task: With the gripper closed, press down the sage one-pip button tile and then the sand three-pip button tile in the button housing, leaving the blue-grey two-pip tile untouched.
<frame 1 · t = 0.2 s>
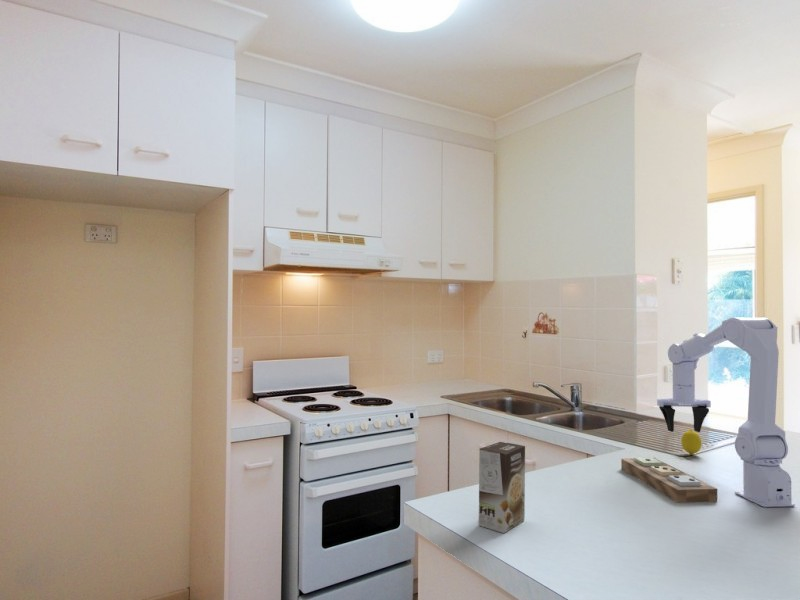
hand: (683, 431, 152), 10 cm above the countertop, fingers open, 7 cm apart
button three: (664, 473, 136), point 3 cm above the countertop, slide at 0.0 cm
button one: (647, 464, 144), point 3 cm above the countertop, slide at 0.0 cm
button two: (684, 483, 128), point 3 cm above the countertop, slide at 0.0 cm
coffee box: (502, 524, 109), on the countertop
lemon: (691, 455, 164), on the countertop
housing: (665, 483, 136), on the countertop
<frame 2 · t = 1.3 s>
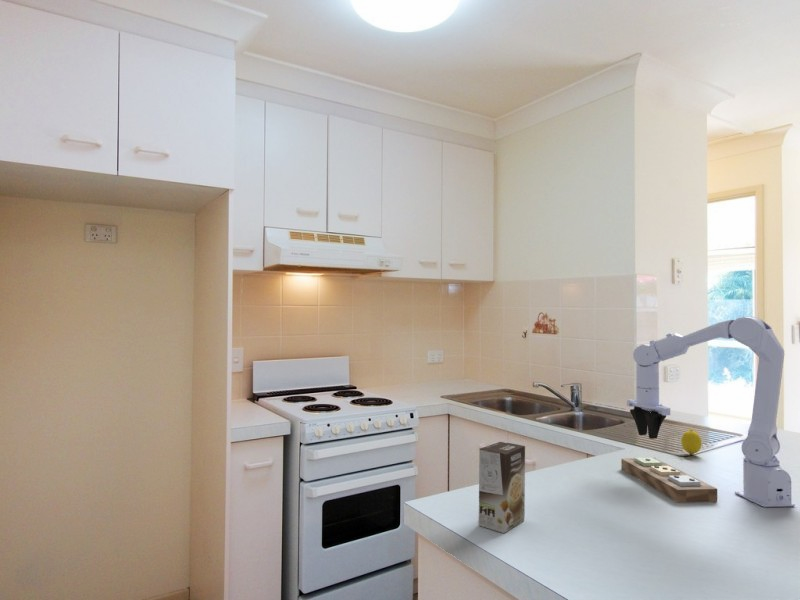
hand: (647, 436, 144), 10 cm above the countertop, fingers open, 3 cm apart
nothing on the countertop moved.
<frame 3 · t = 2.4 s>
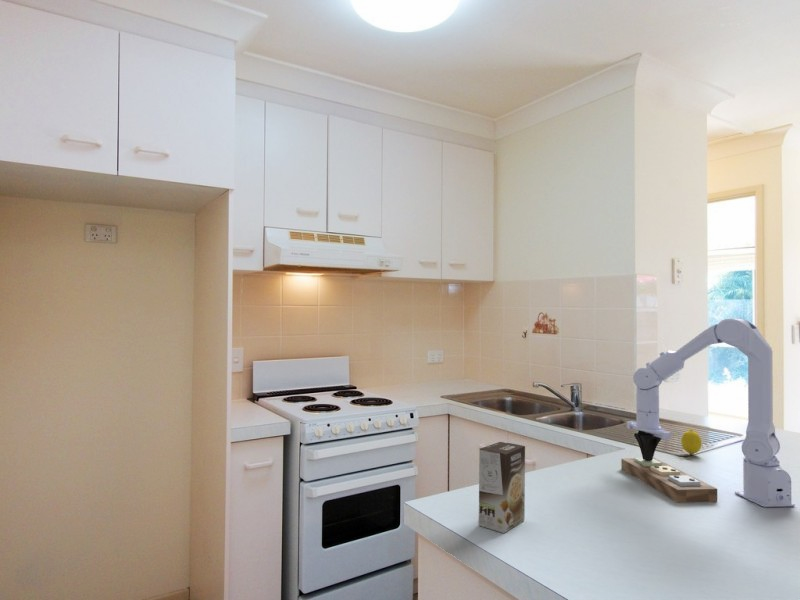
hand: (647, 459, 144), 4 cm above the countertop, fingers closed, pressing on button one
button one: (647, 465, 144), point 2 cm above the countertop, slide at 0.1 cm, touching gripper
everything else where it was.
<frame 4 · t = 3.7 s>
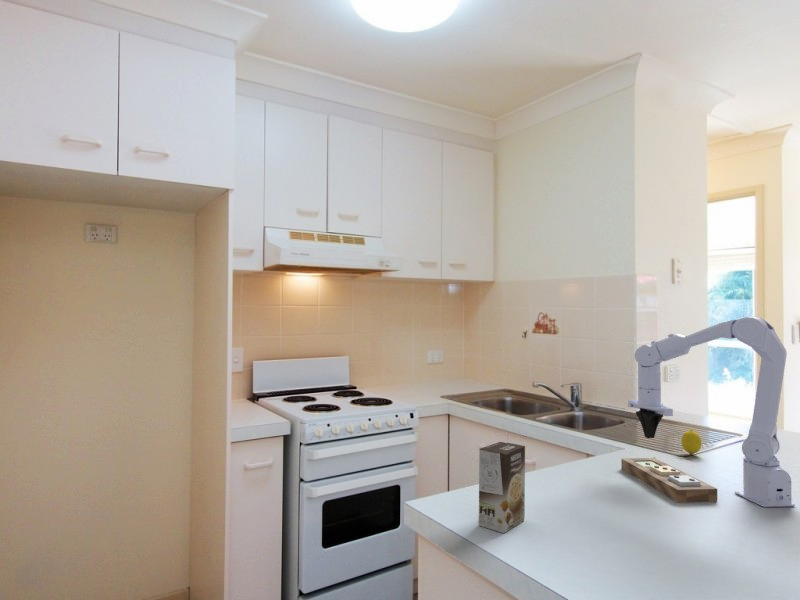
hand: (649, 437, 143), 10 cm above the countertop, fingers closed
button one: (647, 468, 144), point 1 cm above the countertop, slide at 1.1 cm
everything else where it was.
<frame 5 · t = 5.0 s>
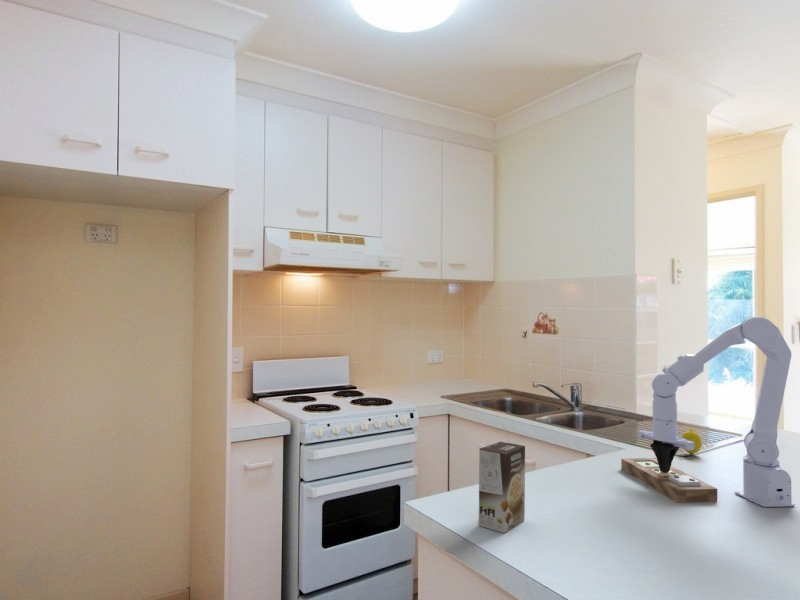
hand: (664, 471, 136), 3 cm above the countertop, fingers closed, pressing on button three
button three: (664, 476, 136), point 2 cm above the countertop, slide at 0.8 cm, touching gripper
everything else where it was.
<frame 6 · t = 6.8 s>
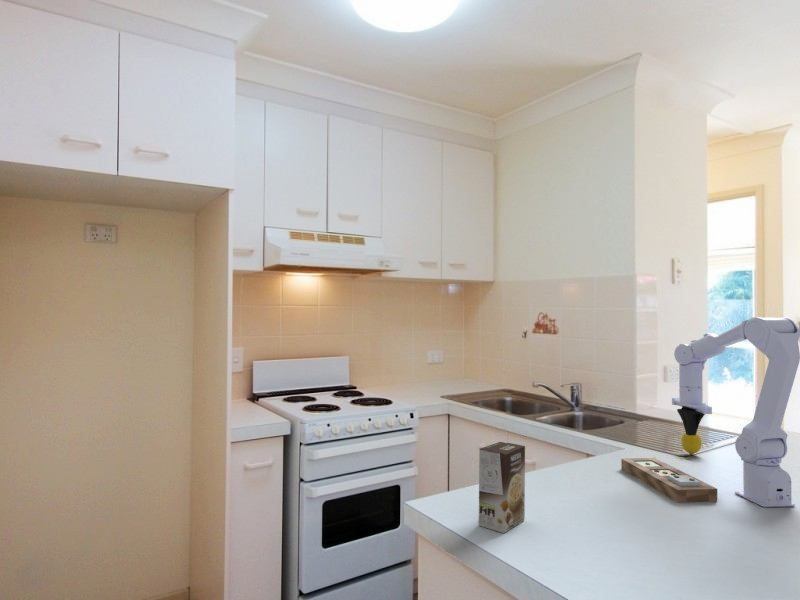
hand: (691, 434, 146), 10 cm above the countertop, fingers closed
button three: (664, 478, 136), point 1 cm above the countertop, slide at 1.1 cm
everything else where it was.
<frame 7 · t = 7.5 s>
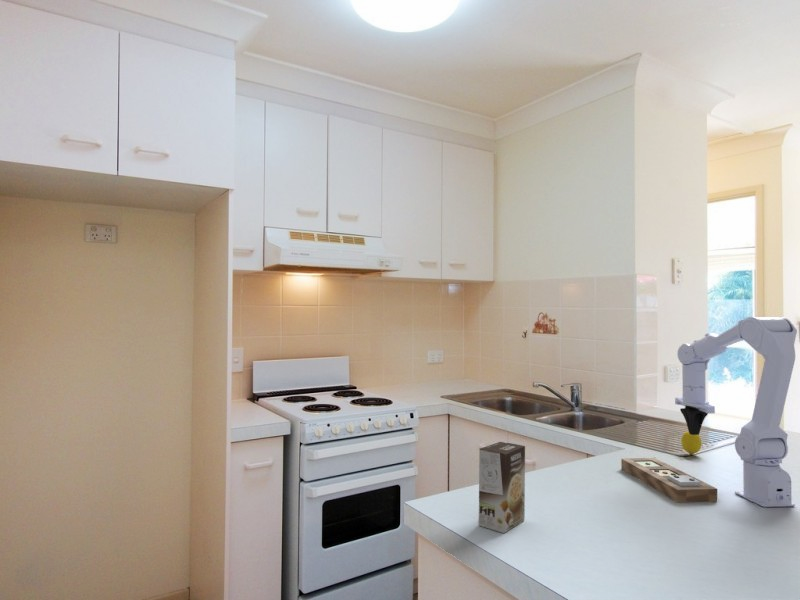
hand: (694, 434, 147), 10 cm above the countertop, fingers closed
nothing on the countertop moved.
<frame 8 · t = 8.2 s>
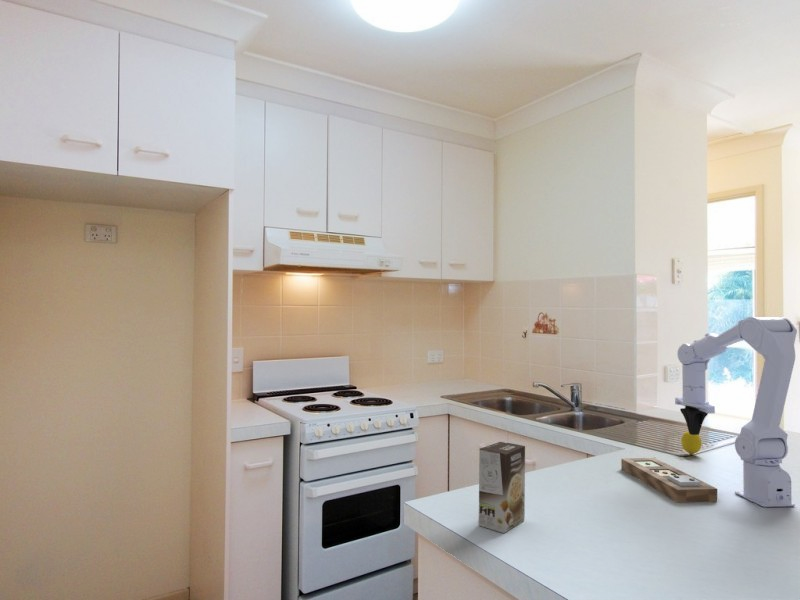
hand: (694, 434, 147), 10 cm above the countertop, fingers closed
nothing on the countertop moved.
at the end: button one slide at 1.1 cm; button three slide at 1.1 cm; button two slide at 0.0 cm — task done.
